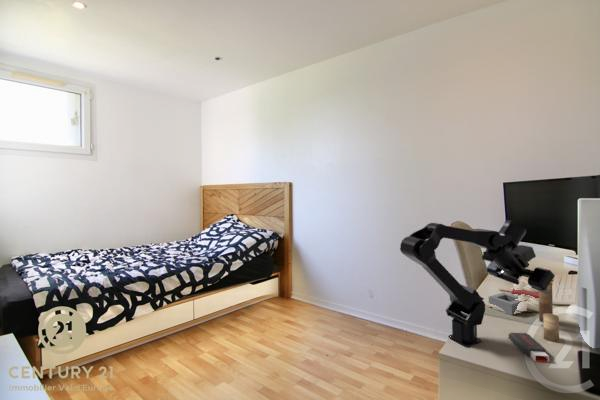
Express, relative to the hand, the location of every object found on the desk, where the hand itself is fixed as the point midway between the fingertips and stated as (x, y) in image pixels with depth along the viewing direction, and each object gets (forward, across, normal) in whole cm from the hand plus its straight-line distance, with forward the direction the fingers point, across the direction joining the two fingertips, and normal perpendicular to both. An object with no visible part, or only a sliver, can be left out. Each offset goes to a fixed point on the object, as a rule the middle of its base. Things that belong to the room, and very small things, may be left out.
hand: (531, 287), depth 99 cm
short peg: (+6, -9, +12) cm, 15 cm away
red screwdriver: (+24, +21, -6) cm, 32 cm away
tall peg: (+13, 0, +4) cm, 13 cm away
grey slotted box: (+11, +12, +6) cm, 17 cm away
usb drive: (-2, -10, +20) cm, 22 cm away
